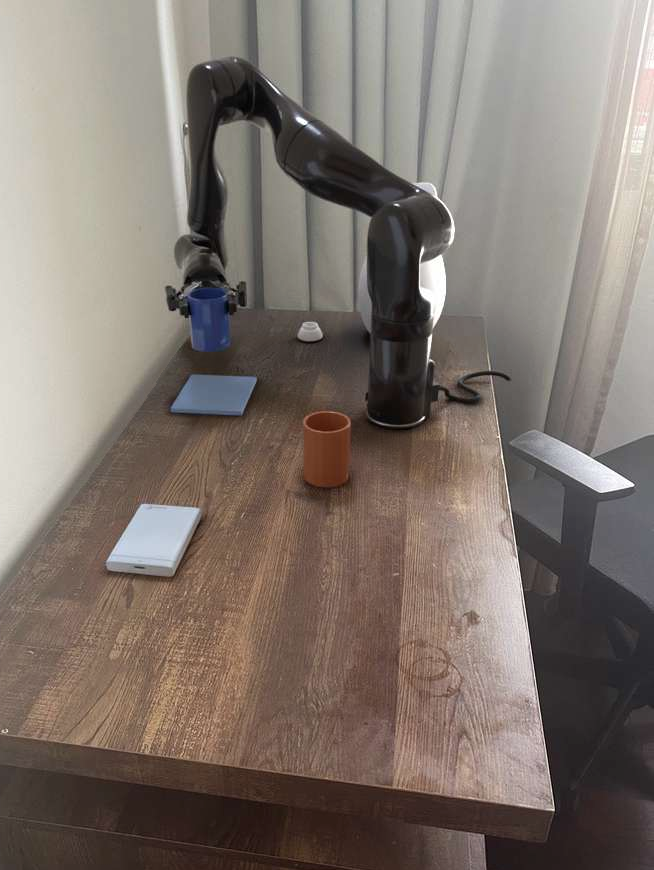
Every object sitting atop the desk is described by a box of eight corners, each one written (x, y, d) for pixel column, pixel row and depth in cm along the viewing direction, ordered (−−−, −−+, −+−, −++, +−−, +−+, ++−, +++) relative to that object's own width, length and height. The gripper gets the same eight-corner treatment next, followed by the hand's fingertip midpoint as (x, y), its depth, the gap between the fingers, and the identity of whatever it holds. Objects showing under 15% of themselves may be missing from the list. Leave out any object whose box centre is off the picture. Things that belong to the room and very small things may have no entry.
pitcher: (358, 320, 158) (363, 180, 142) (439, 322, 155) (453, 180, 140) (352, 363, 138) (357, 206, 123) (444, 366, 136) (461, 207, 120)
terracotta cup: (336, 460, 108) (337, 407, 103) (356, 481, 103) (358, 427, 98) (296, 469, 106) (295, 416, 101) (314, 491, 101) (314, 436, 96)
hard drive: (140, 502, 97) (105, 559, 86) (201, 507, 95) (172, 566, 85) (142, 513, 97) (107, 571, 87) (202, 518, 96) (173, 577, 86)
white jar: (293, 341, 148) (316, 344, 147) (293, 326, 147) (316, 330, 145) (303, 332, 152) (326, 335, 150) (303, 318, 151) (326, 321, 149)
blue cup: (223, 335, 125) (220, 285, 121) (235, 348, 121) (232, 296, 116) (187, 341, 124) (182, 290, 119) (198, 354, 119) (193, 302, 114)
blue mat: (191, 378, 134) (191, 374, 134) (256, 380, 132) (256, 376, 132) (170, 412, 123) (170, 408, 122) (241, 415, 121) (241, 411, 120)
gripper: (161, 260, 128) (160, 290, 114) (244, 255, 129) (253, 284, 115) (165, 303, 132) (165, 336, 118) (246, 298, 133) (255, 330, 119)
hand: (209, 310), depth 117 cm, fingers closed on blue cup, 6 cm apart
